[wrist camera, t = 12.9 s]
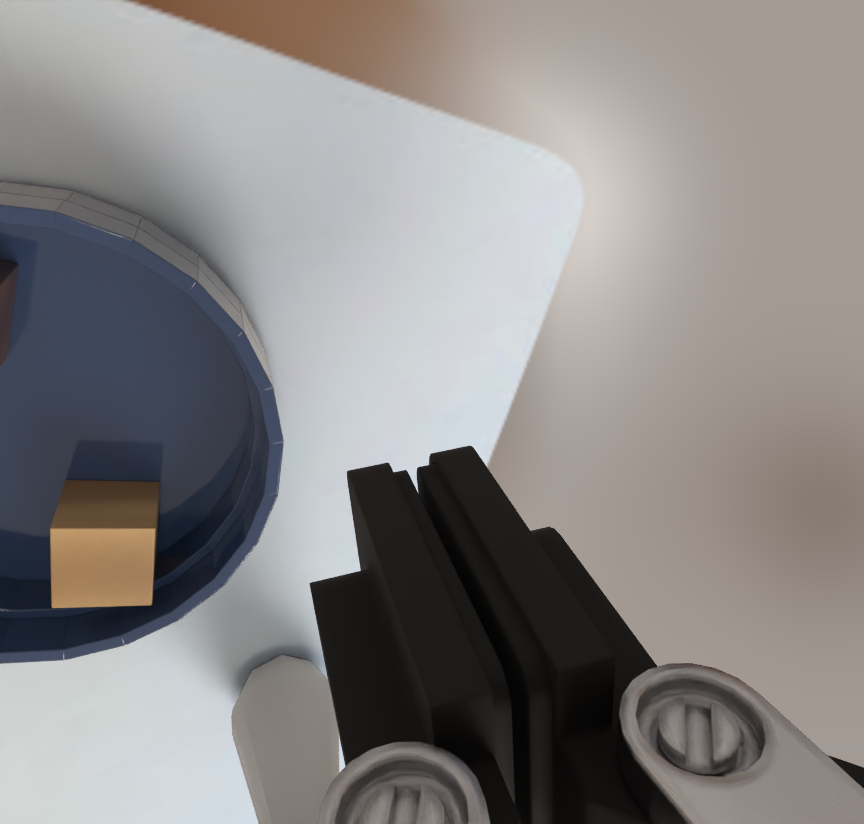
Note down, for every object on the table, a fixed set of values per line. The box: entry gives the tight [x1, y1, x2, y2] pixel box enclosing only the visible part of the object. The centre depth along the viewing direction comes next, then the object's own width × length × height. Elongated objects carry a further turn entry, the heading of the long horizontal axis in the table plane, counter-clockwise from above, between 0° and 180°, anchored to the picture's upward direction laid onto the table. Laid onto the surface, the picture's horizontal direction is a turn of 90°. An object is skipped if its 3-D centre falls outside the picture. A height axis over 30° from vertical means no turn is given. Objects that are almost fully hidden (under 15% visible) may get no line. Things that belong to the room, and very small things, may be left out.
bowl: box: [0, 182, 284, 664], centre depth 30 cm, size 19×19×5 cm
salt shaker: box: [231, 655, 339, 824], centre depth 37 cm, size 6×6×13 cm
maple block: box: [50, 480, 160, 608], centre depth 33 cm, size 4×4×4 cm
